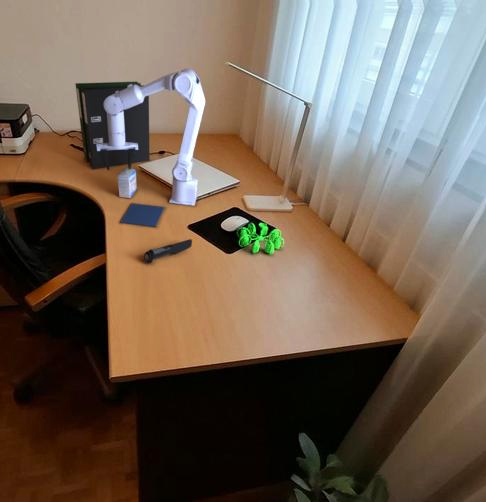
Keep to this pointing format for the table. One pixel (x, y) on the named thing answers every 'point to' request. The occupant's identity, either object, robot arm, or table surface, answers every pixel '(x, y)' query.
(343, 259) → the table surface
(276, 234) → the green cluster
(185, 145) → the robot arm
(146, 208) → the cloth
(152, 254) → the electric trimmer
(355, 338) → the table surface
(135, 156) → the binder
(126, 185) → the medicine box
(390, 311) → the table surface
